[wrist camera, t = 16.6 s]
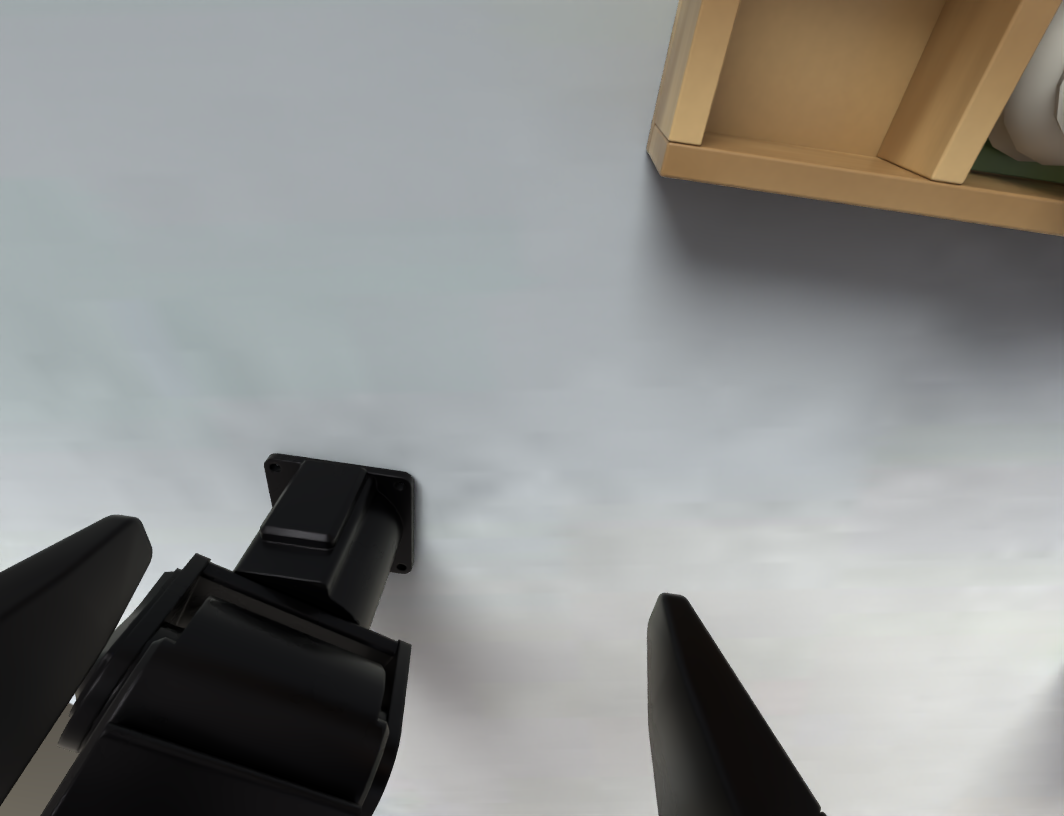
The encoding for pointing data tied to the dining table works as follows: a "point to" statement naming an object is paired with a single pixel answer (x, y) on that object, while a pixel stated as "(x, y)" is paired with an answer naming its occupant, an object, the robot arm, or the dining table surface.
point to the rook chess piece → (1037, 104)
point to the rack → (857, 105)
